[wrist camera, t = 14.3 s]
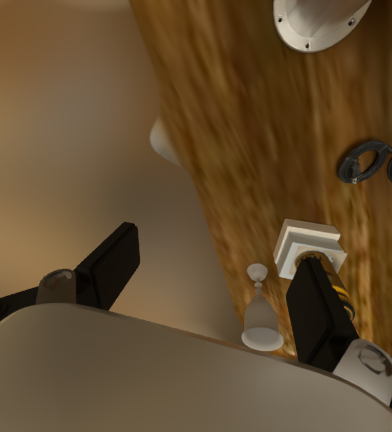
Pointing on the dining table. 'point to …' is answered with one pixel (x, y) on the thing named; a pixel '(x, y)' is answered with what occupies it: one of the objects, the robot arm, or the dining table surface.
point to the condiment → (327, 271)
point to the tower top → (306, 240)
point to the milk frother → (350, 164)
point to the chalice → (260, 317)
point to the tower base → (303, 232)
